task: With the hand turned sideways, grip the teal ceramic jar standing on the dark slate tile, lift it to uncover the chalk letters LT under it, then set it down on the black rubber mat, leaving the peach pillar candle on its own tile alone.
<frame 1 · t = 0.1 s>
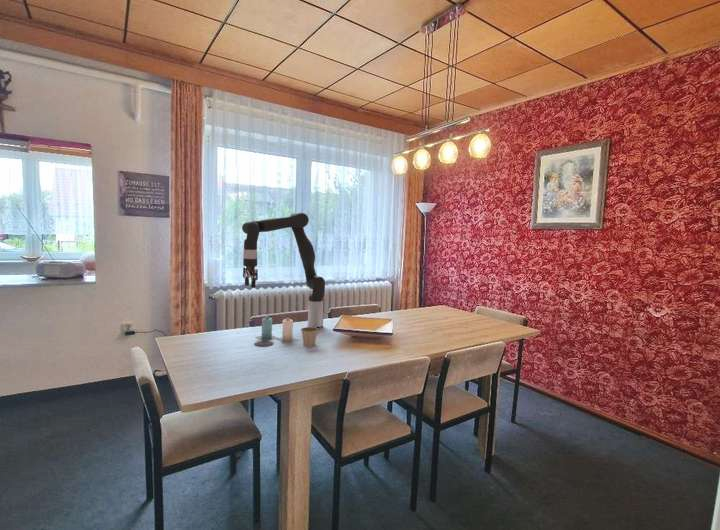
hand: (250, 286, 196), 29 cm above the table, tool pointing down, fingers open, 8 cm apart
flower pot: (309, 345, 190), on the table
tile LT: (266, 338, 197), on the table
jar teal: (266, 337, 197), point 1 cm above the table, touching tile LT
mat: (264, 344, 186), on the table
peach pillar candle: (287, 339, 196), point 1 cm above the table, touching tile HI
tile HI: (287, 340, 196), on the table
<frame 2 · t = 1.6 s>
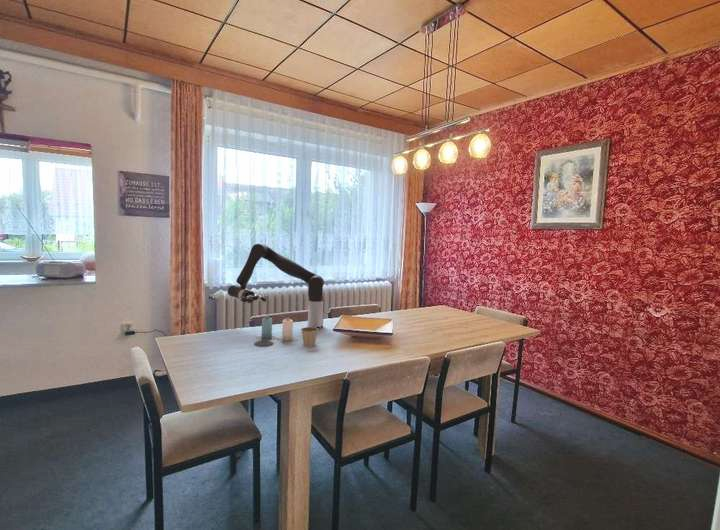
hand: (258, 300, 204), 20 cm above the table, tool horizontal, fingers open, 8 cm apart
nothing on the table moved.
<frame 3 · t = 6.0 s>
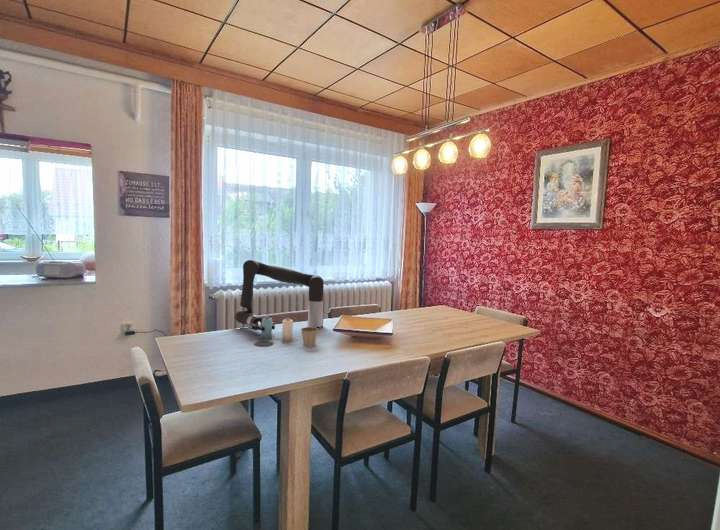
hand: (269, 328, 195), 7 cm above the table, tool horizontal, fingers closed on jar teal, 5 cm apart
jar teal: (266, 337, 197), point 1 cm above the table, touching gripper, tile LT
everything else where it was.
when the fingers open (8 cm above the table, at t = 11.4 s): jar teal drops 1 cm, resting on mat.
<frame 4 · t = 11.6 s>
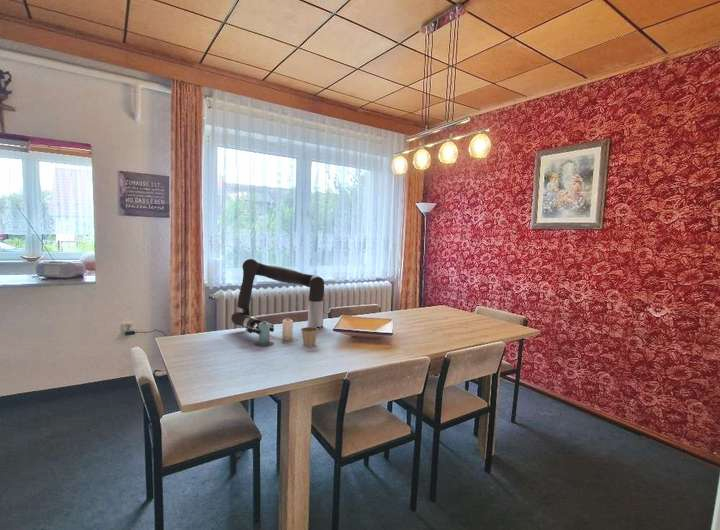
hand: (266, 331, 184), 8 cm above the table, tool horizontal, fingers open, 7 cm apart
jar teal: (264, 343, 186), point 1 cm above the table, touching mat
everything else where it was.
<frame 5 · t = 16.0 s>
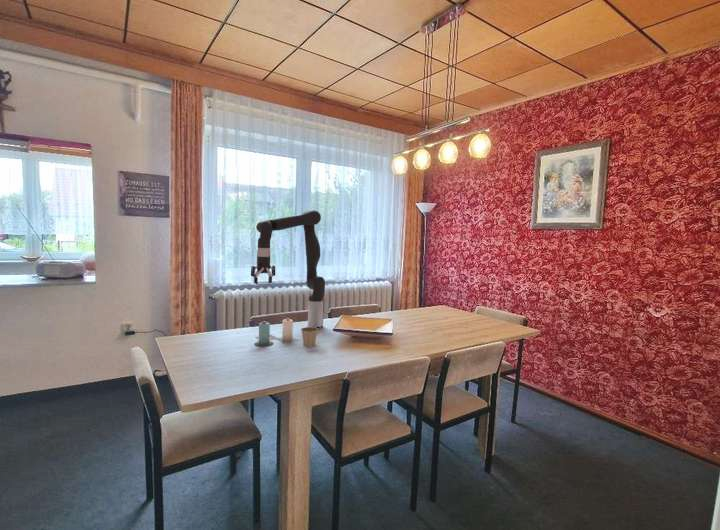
hand: (263, 283, 203), 30 cm above the table, tool pointing down, fingers open, 8 cm apart
nothing on the table moved.
at the end: jar teal 0.1 cm from the mat (horizontally); jar teal tilted 0°; jar teal touching mat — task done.
